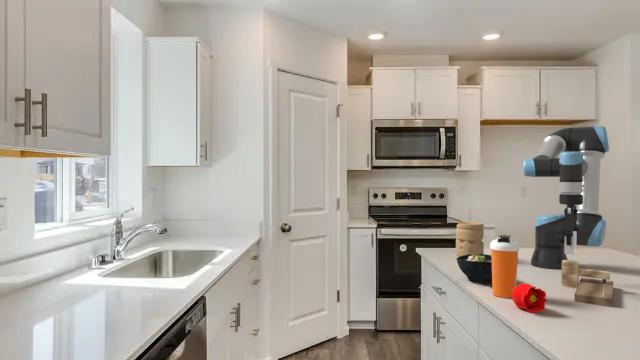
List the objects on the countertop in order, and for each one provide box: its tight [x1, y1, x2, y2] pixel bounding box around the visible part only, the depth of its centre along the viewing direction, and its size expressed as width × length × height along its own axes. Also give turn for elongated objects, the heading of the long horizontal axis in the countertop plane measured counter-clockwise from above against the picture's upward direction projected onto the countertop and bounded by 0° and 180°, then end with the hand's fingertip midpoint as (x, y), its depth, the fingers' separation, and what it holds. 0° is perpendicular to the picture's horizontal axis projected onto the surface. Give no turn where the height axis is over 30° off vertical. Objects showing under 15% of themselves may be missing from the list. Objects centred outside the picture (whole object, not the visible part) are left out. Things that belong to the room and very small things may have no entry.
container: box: [455, 221, 485, 261], centre depth 203 cm, size 13×13×18 cm
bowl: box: [456, 254, 492, 284], centre depth 163 cm, size 17×17×10 cm
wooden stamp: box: [560, 260, 611, 289], centre depth 153 cm, size 14×5×9 cm, turn 55°
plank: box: [573, 277, 614, 308], centre depth 144 cm, size 10×28×2 cm, turn 145°
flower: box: [512, 283, 547, 314], centre depth 128 cm, size 8×8×8 cm
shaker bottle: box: [489, 234, 520, 299], centre depth 142 cm, size 9×9×20 cm
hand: (570, 251), depth 156 cm, fingers open, 13 cm apart
